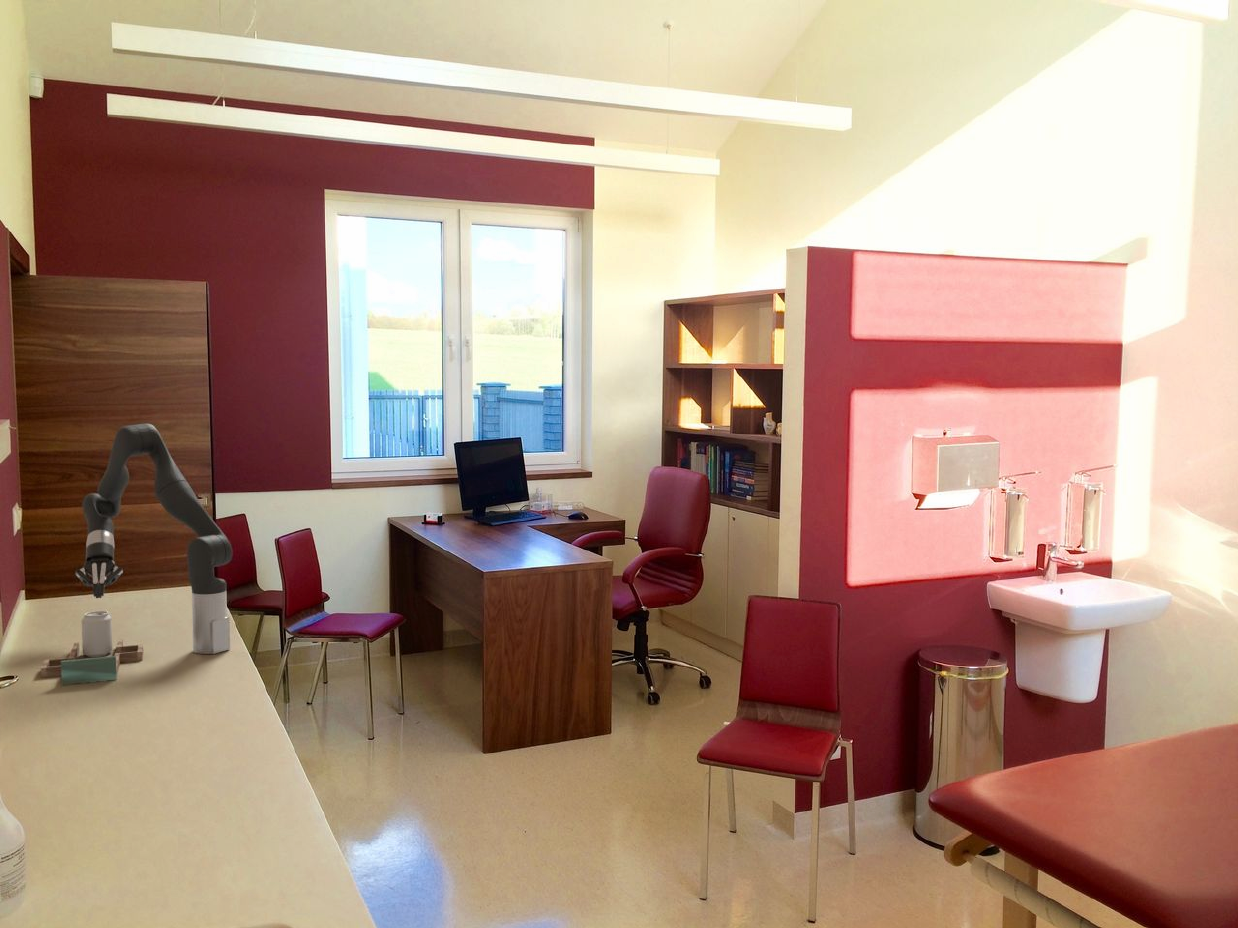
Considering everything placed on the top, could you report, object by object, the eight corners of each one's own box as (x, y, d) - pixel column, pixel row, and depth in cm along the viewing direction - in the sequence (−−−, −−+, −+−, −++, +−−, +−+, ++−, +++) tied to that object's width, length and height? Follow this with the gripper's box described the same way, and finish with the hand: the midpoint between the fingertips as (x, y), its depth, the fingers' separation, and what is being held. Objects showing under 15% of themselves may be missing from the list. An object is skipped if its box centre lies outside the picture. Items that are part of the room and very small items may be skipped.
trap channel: (52, 653, 283) (51, 632, 282) (144, 645, 292) (143, 624, 292) (36, 687, 251) (35, 664, 250) (140, 677, 260) (139, 654, 260)
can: (118, 651, 285) (116, 610, 284) (102, 658, 278) (100, 615, 277) (93, 650, 286) (92, 609, 285) (76, 657, 279) (75, 615, 278)
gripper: (74, 542, 295) (71, 591, 285) (124, 540, 301) (123, 587, 291) (76, 557, 301) (73, 605, 290) (125, 554, 306) (124, 602, 296)
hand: (98, 596), depth 291 cm, fingers closed
